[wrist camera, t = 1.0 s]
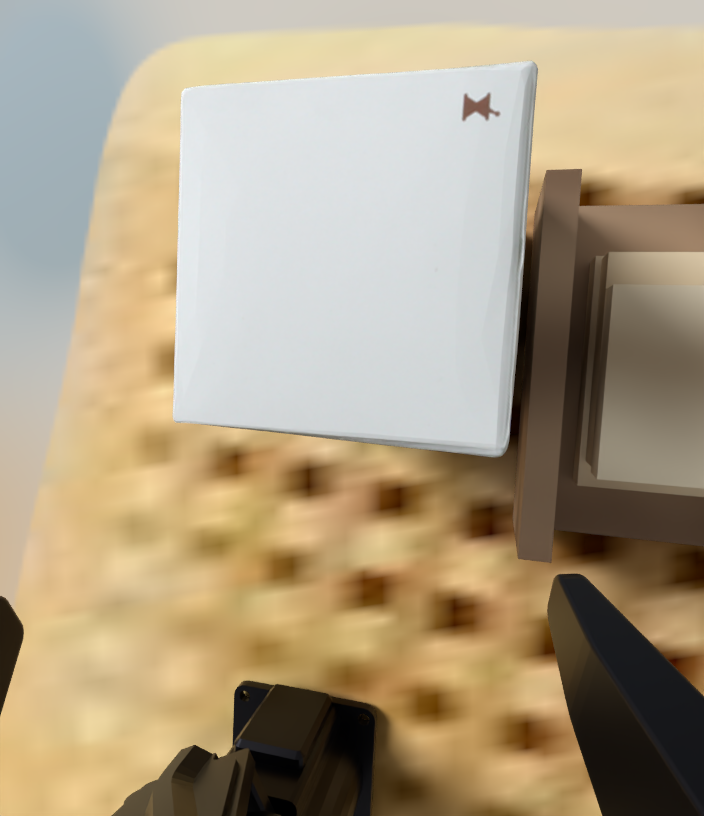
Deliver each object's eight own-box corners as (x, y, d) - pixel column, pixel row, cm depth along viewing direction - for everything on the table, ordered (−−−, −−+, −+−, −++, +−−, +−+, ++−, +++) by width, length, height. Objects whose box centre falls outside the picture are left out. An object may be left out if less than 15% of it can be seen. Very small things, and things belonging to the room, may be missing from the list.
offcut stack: (709, 491, 20) (754, 516, 17) (572, 478, 21) (588, 500, 18) (732, 262, 20) (784, 240, 16) (590, 262, 21) (610, 240, 17)
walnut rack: (736, 542, 21) (809, 594, 16) (512, 518, 23) (518, 558, 18) (771, 210, 20) (859, 160, 15) (534, 214, 22) (546, 170, 17)
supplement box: (336, 222, 24) (173, 68, 12) (519, 224, 22) (553, 45, 10) (325, 398, 25) (159, 426, 12) (503, 412, 23) (515, 462, 11)
